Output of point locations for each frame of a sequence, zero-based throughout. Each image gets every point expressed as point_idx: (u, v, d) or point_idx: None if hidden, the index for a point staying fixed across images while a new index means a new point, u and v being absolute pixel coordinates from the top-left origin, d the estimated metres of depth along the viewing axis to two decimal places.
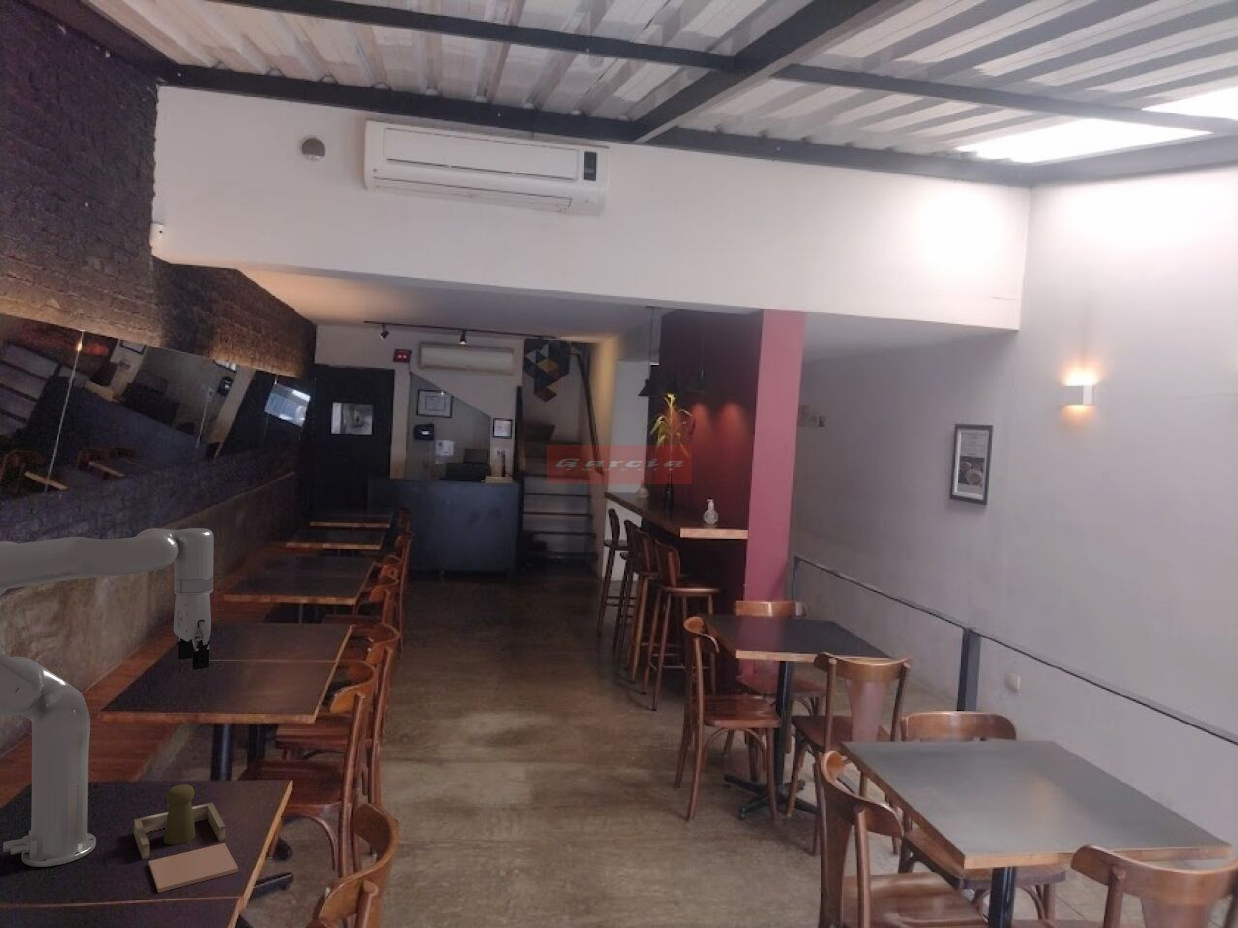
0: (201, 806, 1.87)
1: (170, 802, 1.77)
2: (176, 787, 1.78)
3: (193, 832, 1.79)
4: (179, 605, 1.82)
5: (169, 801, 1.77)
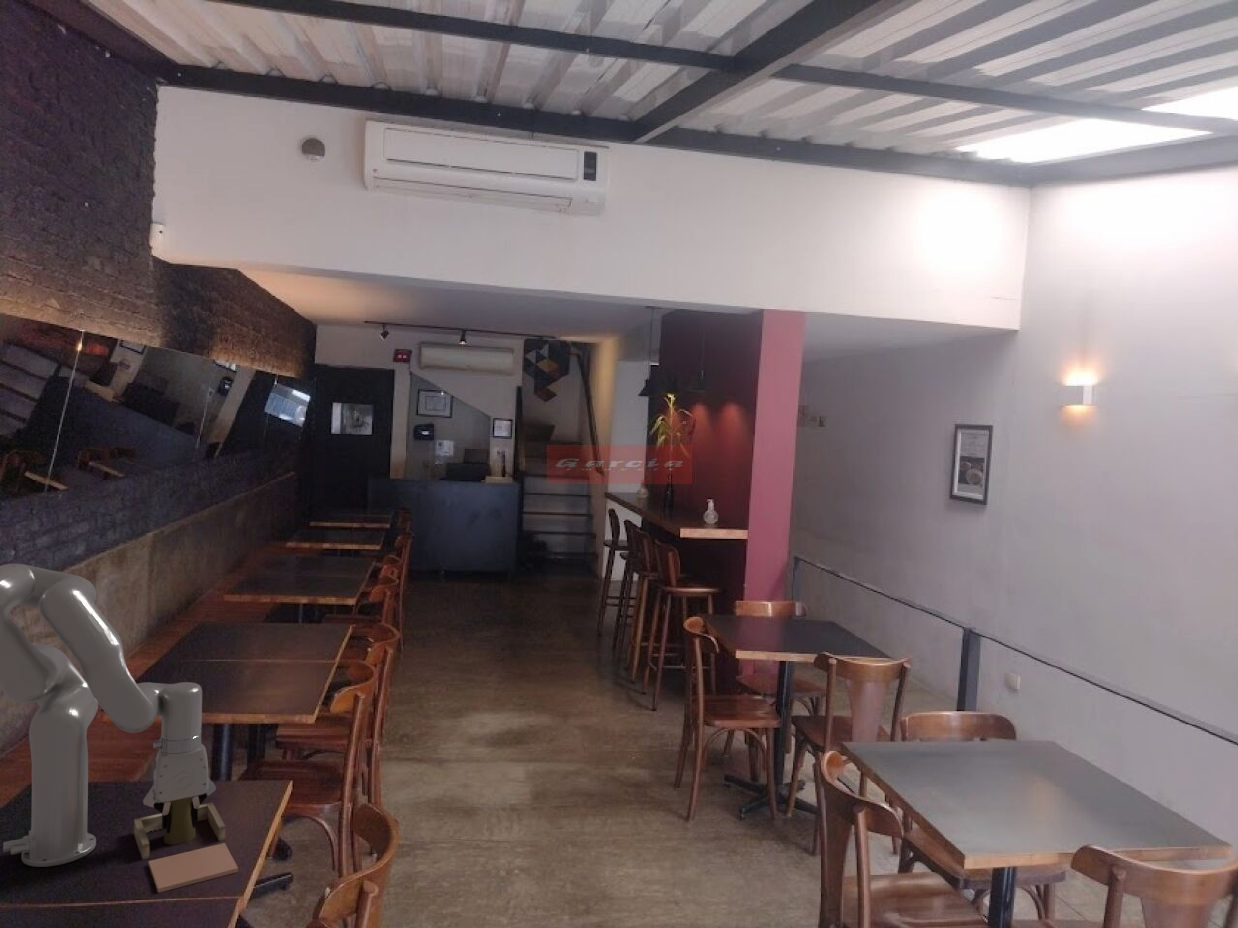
0: (201, 806, 1.87)
1: None
2: None
3: (193, 832, 1.79)
4: (182, 766, 1.76)
5: None
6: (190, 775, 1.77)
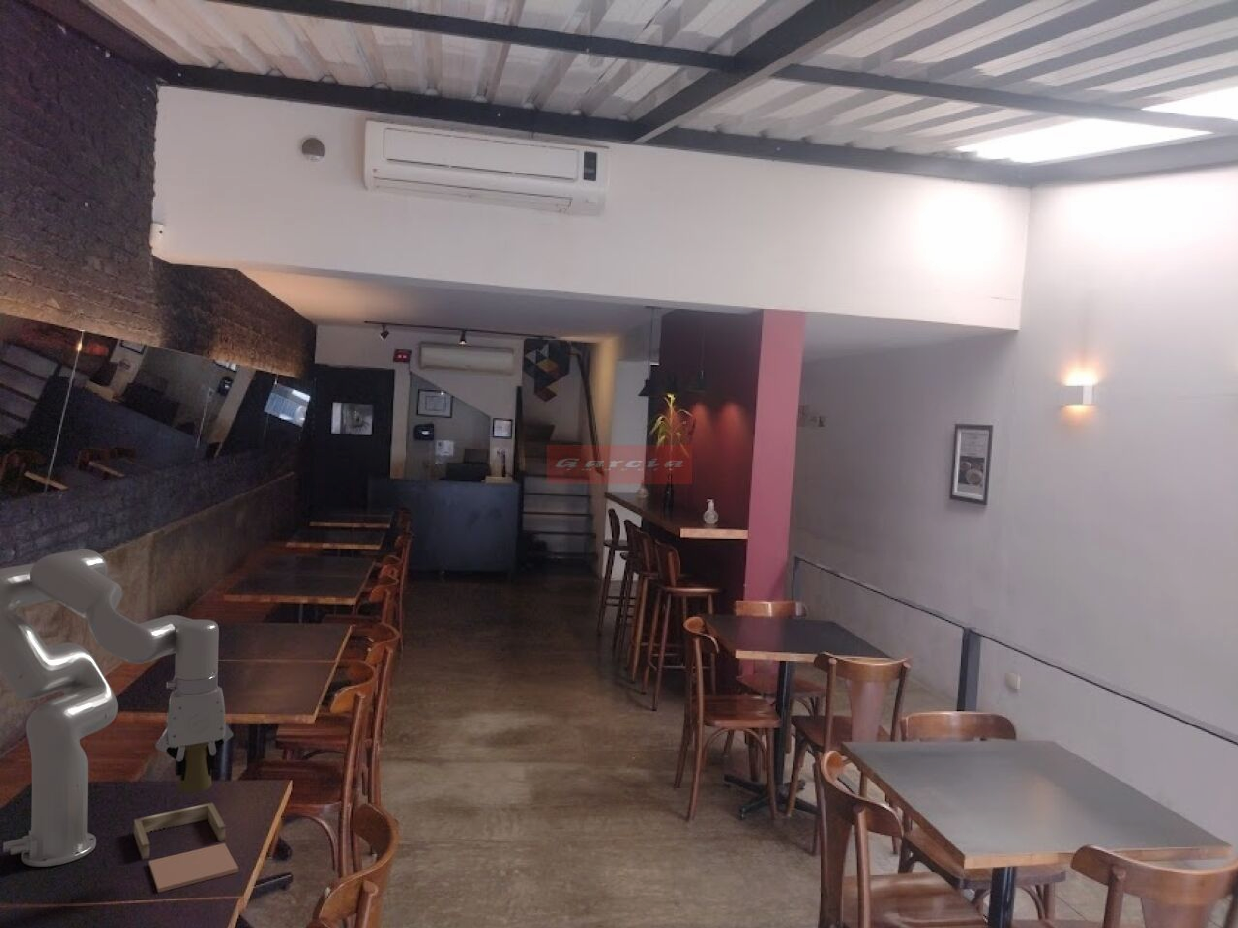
0: (201, 806, 1.87)
1: (185, 747, 1.64)
2: None
3: (209, 780, 1.67)
4: (197, 708, 1.64)
5: None
6: (206, 718, 1.65)
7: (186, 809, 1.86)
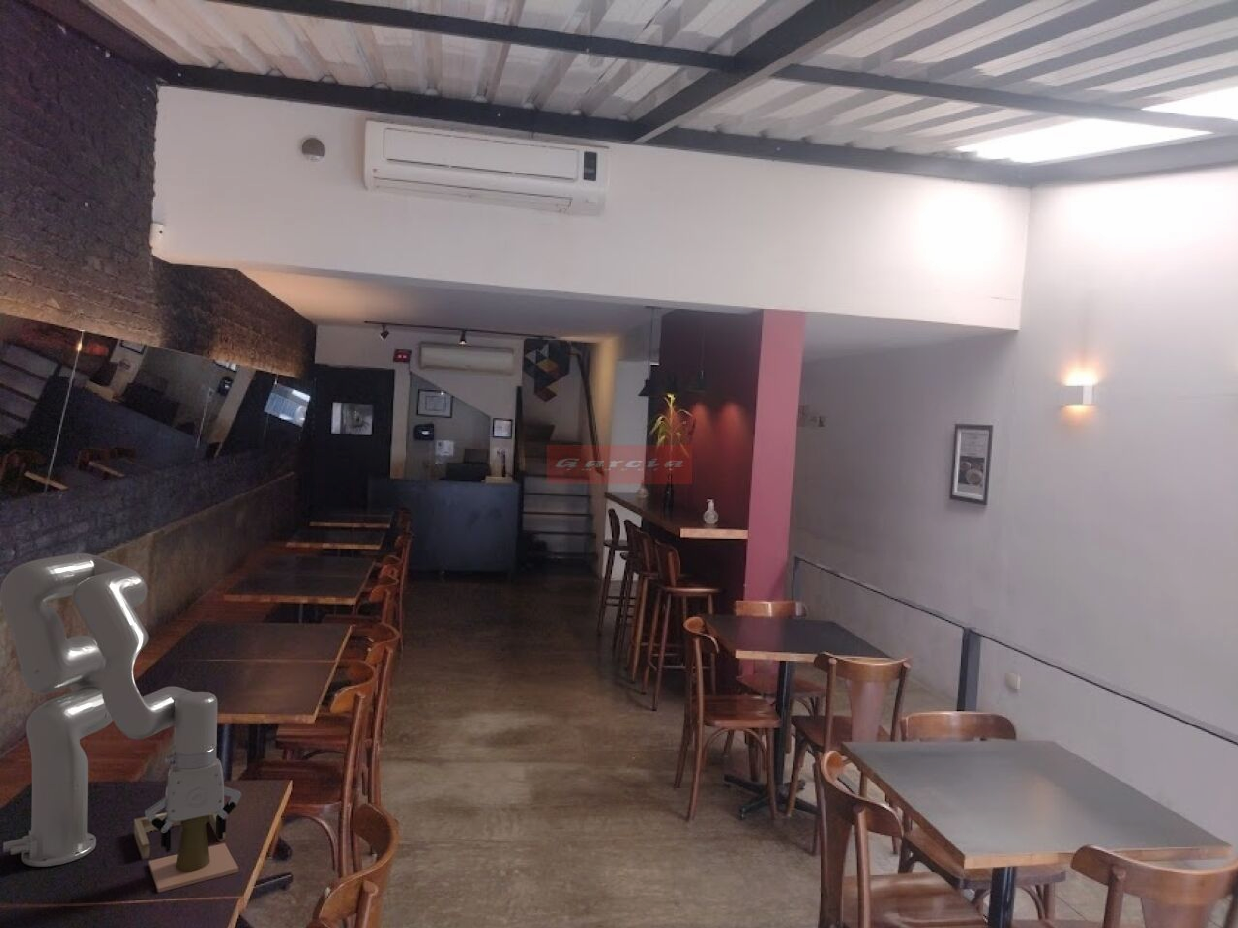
0: None
1: (184, 826, 1.65)
2: None
3: (207, 858, 1.67)
4: (196, 782, 1.64)
5: (183, 824, 1.65)
6: (205, 792, 1.65)
7: None
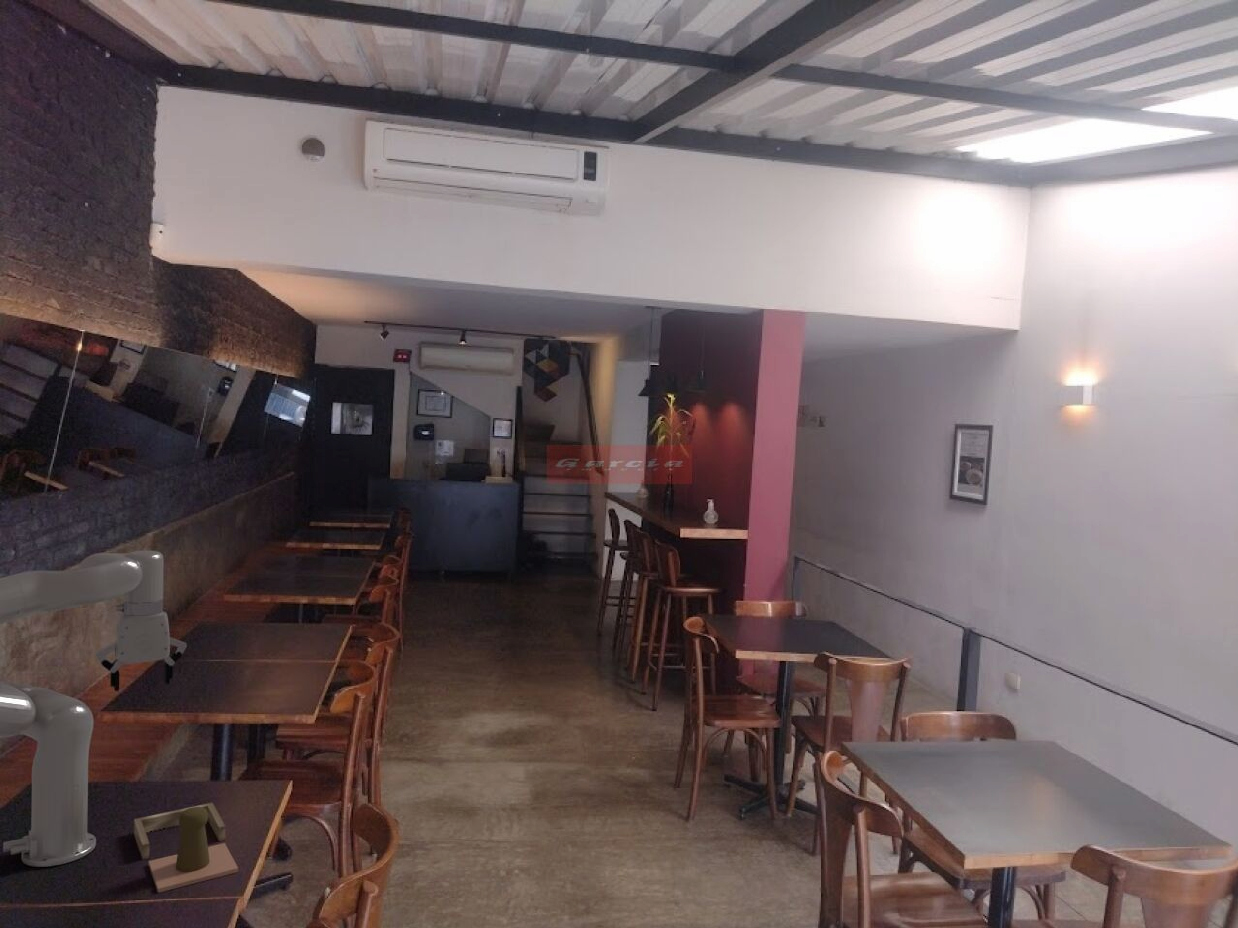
0: (201, 806, 1.87)
1: (183, 826, 1.65)
2: (189, 810, 1.66)
3: (207, 858, 1.67)
4: (143, 629, 1.81)
5: (182, 825, 1.65)
6: (151, 639, 1.82)
7: None
